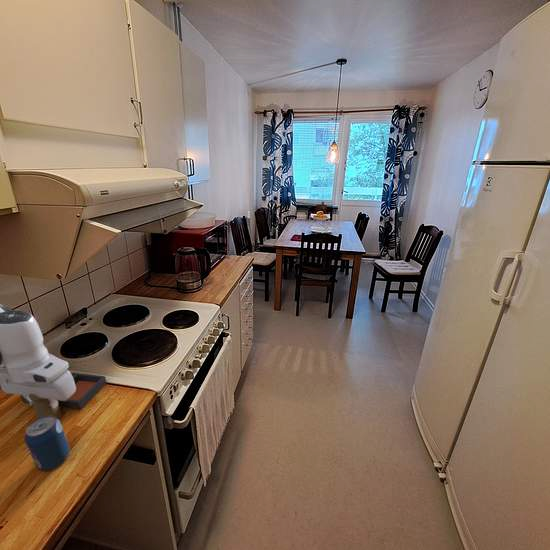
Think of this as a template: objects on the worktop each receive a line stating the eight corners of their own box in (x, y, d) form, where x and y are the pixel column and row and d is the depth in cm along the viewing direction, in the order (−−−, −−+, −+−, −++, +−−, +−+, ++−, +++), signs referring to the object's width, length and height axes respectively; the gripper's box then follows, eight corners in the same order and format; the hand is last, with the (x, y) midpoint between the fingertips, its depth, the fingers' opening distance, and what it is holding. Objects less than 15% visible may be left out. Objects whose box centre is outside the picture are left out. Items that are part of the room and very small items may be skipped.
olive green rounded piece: (31, 427, 80) (20, 397, 76) (41, 410, 86) (31, 381, 81) (56, 423, 82) (47, 393, 78) (64, 406, 87) (56, 378, 83)
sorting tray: (22, 402, 88) (19, 394, 87) (54, 376, 99) (51, 369, 98) (81, 410, 86) (78, 402, 85) (107, 383, 97) (105, 376, 96)
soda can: (76, 445, 76) (64, 411, 71) (62, 471, 69) (48, 436, 65) (47, 448, 75) (33, 414, 70) (30, 475, 68) (14, 440, 64)
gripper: (-16, 370, 75) (2, 409, 80) (54, 379, 73) (67, 418, 78) (8, 355, 81) (23, 392, 86) (73, 362, 78) (85, 401, 83)
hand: (45, 405), depth 82 cm, fingers closed on olive green rounded piece, 4 cm apart
